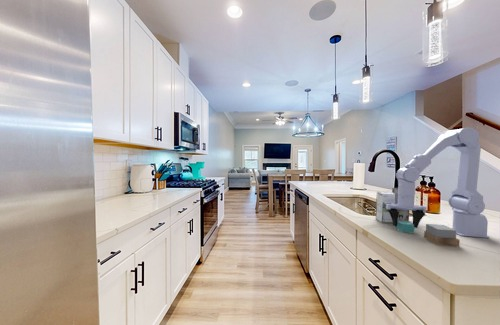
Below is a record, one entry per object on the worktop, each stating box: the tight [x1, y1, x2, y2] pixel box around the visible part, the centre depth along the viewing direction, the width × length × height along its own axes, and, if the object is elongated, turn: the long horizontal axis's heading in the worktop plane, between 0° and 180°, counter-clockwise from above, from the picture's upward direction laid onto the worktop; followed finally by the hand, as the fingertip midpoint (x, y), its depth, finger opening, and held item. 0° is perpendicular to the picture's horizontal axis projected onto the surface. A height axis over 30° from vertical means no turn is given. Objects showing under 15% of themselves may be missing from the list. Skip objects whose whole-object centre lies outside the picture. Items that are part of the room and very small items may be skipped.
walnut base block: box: [423, 230, 460, 247], centre depth 76 cm, size 7×7×3 cm
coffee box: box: [391, 187, 410, 222], centre depth 100 cm, size 9×6×16 cm
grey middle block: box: [425, 223, 457, 239], centre depth 76 cm, size 6×6×3 cm
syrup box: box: [375, 191, 395, 224], centre depth 99 cm, size 6×6×14 cm
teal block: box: [395, 221, 415, 234], centre depth 87 cm, size 4×4×4 cm
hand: (405, 226), depth 87 cm, fingers open, 7 cm apart
